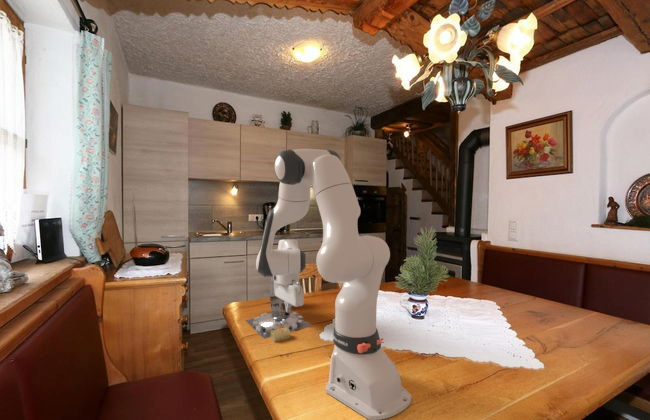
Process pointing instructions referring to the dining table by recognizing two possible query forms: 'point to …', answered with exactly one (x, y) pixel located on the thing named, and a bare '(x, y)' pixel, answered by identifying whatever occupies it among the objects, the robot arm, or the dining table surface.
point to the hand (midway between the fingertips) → (288, 312)
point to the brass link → (280, 334)
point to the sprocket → (277, 321)
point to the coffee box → (275, 299)
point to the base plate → (267, 335)
